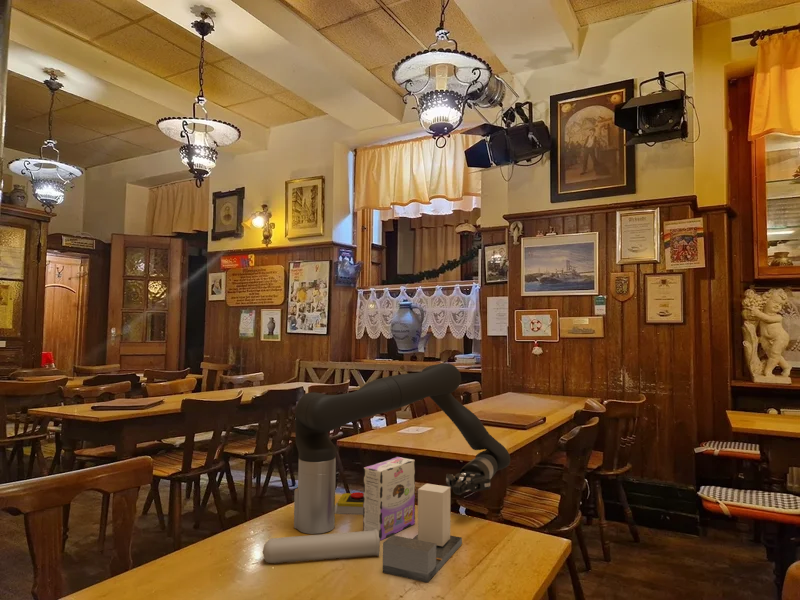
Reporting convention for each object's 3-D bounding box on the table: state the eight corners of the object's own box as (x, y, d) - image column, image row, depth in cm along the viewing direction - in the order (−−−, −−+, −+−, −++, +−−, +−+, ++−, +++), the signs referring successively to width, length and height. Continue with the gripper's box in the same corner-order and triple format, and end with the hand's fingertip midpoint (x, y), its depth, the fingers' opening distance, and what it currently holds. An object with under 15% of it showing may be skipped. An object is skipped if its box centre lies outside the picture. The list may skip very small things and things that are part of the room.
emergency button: (337, 488, 155) (389, 490, 154) (337, 504, 155) (389, 506, 154) (330, 498, 146) (386, 500, 145) (330, 515, 146) (386, 517, 145)
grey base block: (382, 572, 112) (382, 542, 112) (422, 536, 131) (422, 511, 131) (427, 582, 107) (428, 551, 108) (461, 544, 126) (462, 517, 127)
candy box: (397, 519, 142) (398, 455, 143) (415, 524, 138) (416, 459, 139) (361, 535, 131) (362, 466, 132) (380, 541, 128) (381, 470, 128)
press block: (417, 541, 123) (418, 489, 123) (426, 534, 127) (426, 483, 128) (442, 546, 120) (442, 492, 121) (450, 538, 125) (450, 486, 125)
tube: (261, 550, 113) (380, 540, 118) (262, 532, 118) (376, 524, 123) (261, 571, 114) (379, 561, 119) (263, 553, 119) (375, 544, 124)
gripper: (455, 457, 157) (432, 472, 141) (500, 462, 151) (482, 478, 136) (455, 483, 157) (433, 501, 141) (500, 489, 151) (482, 509, 136)
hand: (457, 490), depth 138 cm, fingers closed
